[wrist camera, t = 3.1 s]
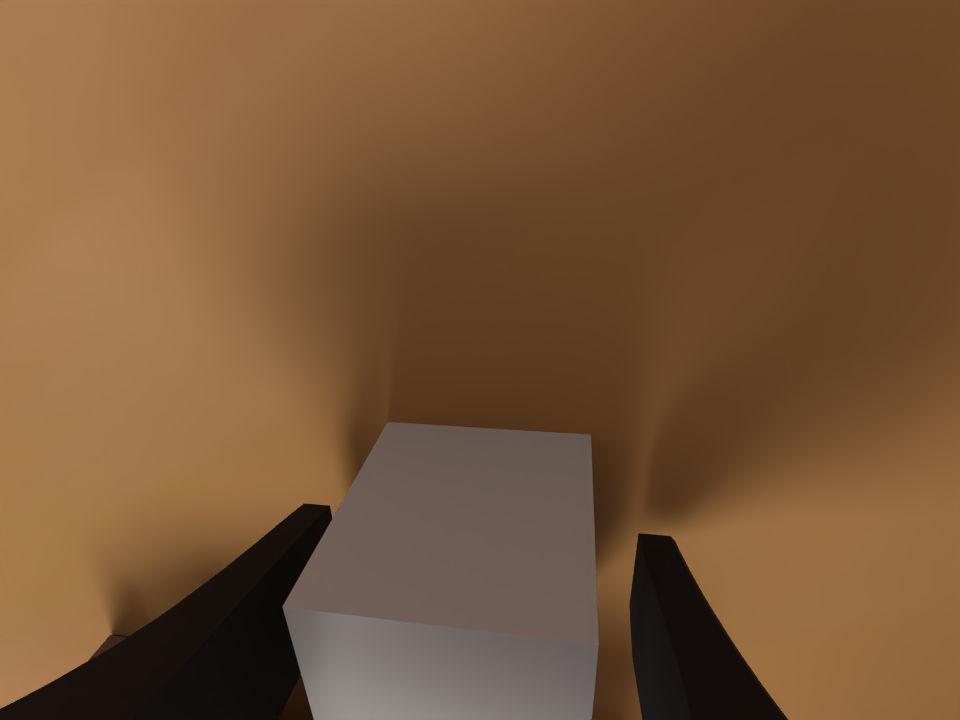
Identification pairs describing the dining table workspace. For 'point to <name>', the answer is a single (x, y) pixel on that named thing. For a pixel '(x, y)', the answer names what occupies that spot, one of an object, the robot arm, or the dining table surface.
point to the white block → (455, 581)
